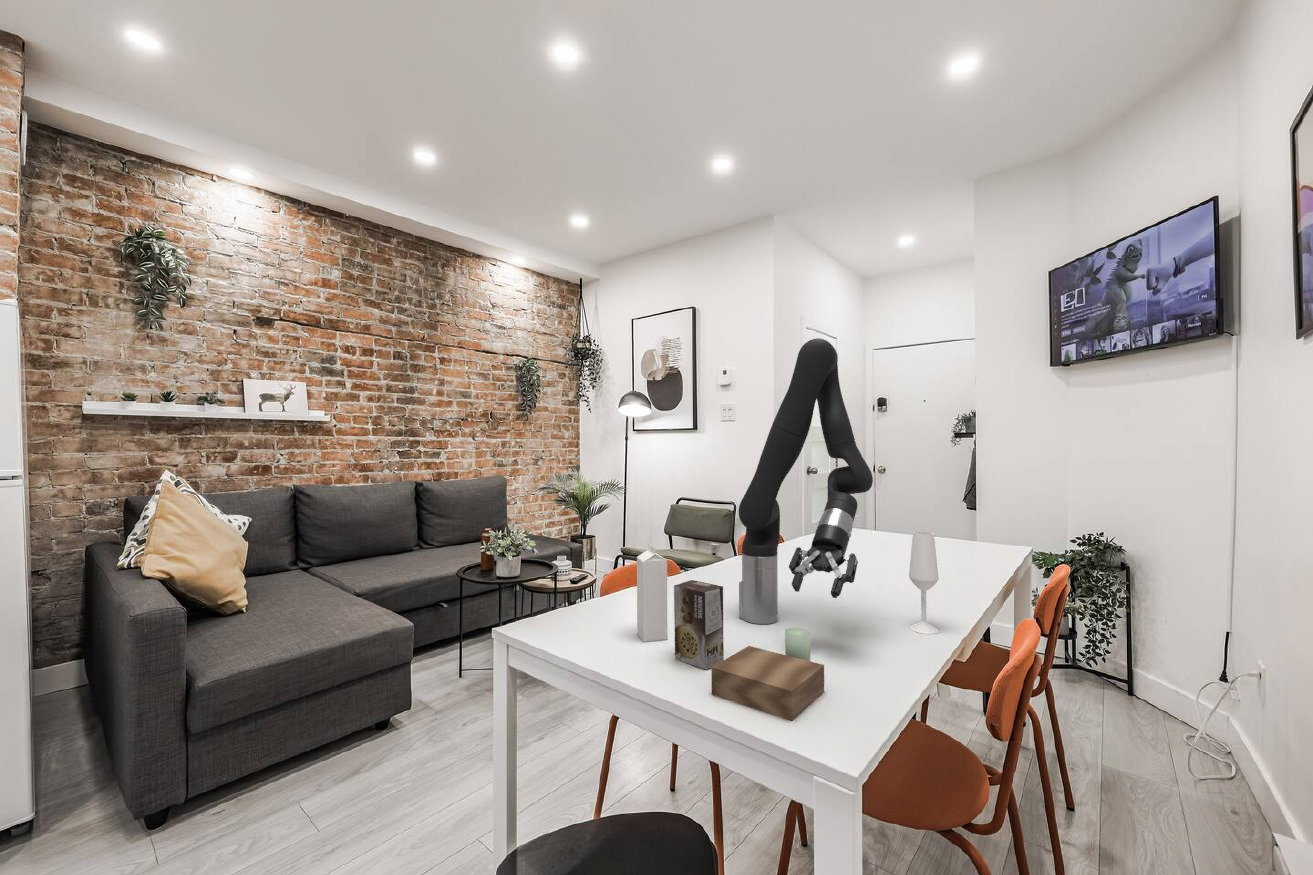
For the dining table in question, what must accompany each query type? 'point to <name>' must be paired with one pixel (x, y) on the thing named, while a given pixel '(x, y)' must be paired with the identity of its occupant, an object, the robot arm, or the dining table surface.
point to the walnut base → (768, 681)
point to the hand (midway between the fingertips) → (814, 592)
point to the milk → (651, 596)
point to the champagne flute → (923, 573)
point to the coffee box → (698, 623)
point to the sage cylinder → (797, 643)
